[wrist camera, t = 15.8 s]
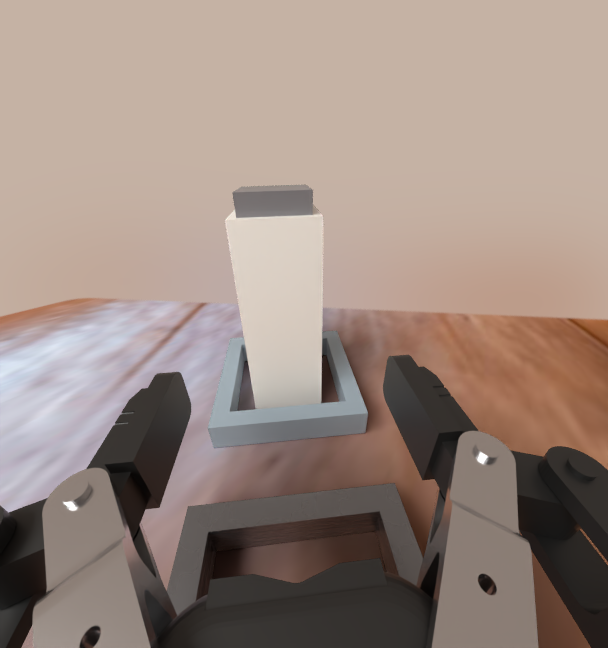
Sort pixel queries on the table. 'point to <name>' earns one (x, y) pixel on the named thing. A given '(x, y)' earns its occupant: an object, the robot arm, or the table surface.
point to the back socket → (290, 420)
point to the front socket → (291, 531)
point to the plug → (279, 291)
